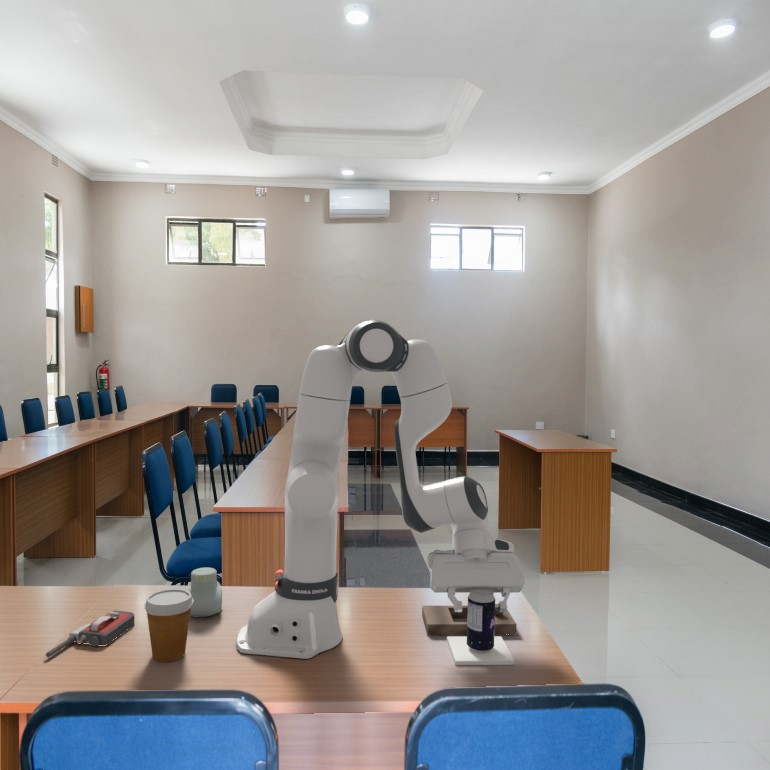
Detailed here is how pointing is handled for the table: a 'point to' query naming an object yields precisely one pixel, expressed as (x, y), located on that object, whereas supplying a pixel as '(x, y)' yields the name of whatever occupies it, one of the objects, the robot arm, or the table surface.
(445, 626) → the base
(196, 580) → the air freshener
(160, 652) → the disposable coffee cup
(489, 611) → the beverage can
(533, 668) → the table surface
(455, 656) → the pad
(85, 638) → the walkie-talkie
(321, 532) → the robot arm
